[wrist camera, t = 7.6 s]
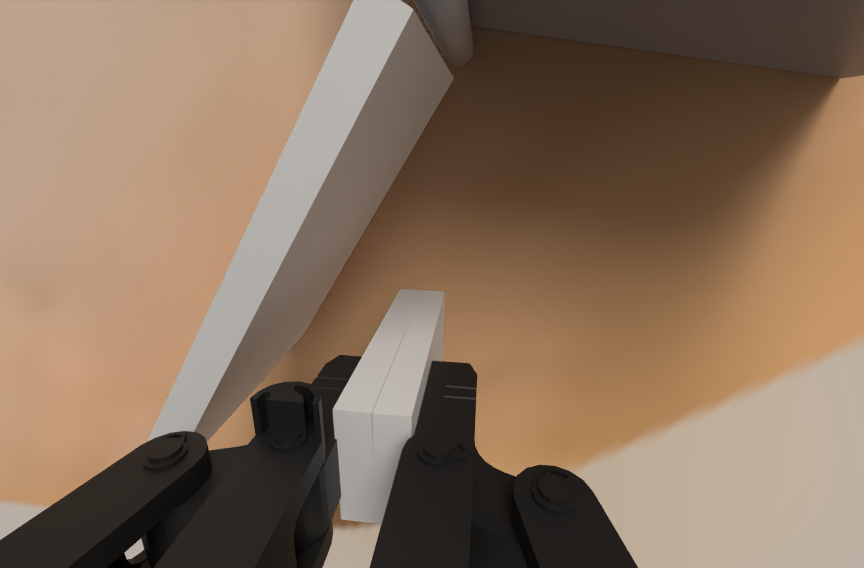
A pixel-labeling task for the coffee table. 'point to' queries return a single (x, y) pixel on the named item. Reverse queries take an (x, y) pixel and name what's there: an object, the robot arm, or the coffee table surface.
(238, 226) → the coffee table surface
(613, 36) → the camera body
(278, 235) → the side door
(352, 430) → the robot arm
